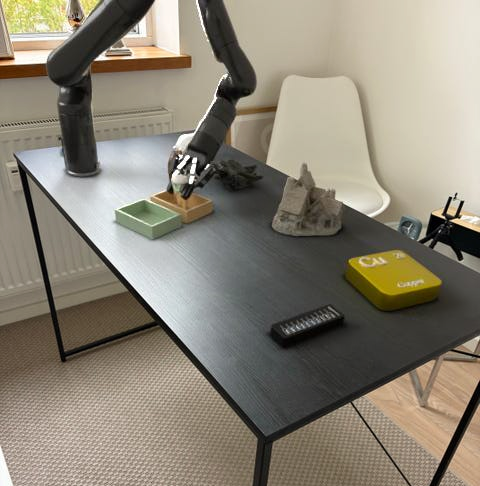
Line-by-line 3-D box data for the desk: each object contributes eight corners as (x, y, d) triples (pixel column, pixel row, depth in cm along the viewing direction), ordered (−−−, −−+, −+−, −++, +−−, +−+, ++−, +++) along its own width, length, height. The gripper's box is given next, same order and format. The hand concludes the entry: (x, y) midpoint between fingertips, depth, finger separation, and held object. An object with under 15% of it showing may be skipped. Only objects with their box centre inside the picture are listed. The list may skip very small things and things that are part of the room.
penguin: (186, 170, 161) (226, 149, 163) (177, 146, 155) (218, 125, 157) (177, 161, 167) (215, 141, 169) (168, 138, 161) (207, 118, 163)
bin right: (150, 207, 130) (150, 196, 128) (176, 197, 136) (176, 186, 134) (186, 223, 124) (186, 211, 122) (212, 212, 130) (212, 200, 128)
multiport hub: (269, 334, 90) (270, 324, 89) (328, 312, 97) (330, 303, 95) (283, 348, 87) (284, 338, 86) (343, 324, 94) (346, 315, 92)
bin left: (115, 221, 122) (114, 209, 120) (144, 210, 128) (144, 198, 126) (152, 239, 116) (151, 226, 114) (181, 226, 122) (181, 214, 120)
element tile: (382, 313, 97) (387, 293, 95) (341, 275, 108) (345, 256, 105) (440, 299, 103) (447, 280, 100) (395, 264, 113) (400, 246, 111)
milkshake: (194, 206, 131) (193, 170, 125) (184, 214, 127) (183, 176, 121) (179, 203, 132) (178, 166, 126) (169, 210, 128) (167, 173, 122)
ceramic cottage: (262, 224, 125) (273, 168, 116) (298, 208, 136) (310, 155, 127) (313, 249, 118) (328, 191, 109) (346, 230, 129) (362, 176, 120)
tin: (178, 193, 138) (177, 164, 133) (167, 192, 138) (166, 163, 133) (184, 173, 150) (184, 146, 145) (174, 173, 150) (173, 145, 145)
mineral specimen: (244, 182, 134) (236, 146, 133) (207, 196, 140) (199, 161, 139) (269, 185, 146) (261, 152, 145) (233, 197, 153) (226, 165, 152)
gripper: (181, 123, 126) (149, 180, 126) (223, 136, 120) (189, 197, 119) (194, 139, 133) (164, 194, 133) (235, 153, 126) (203, 210, 126)
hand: (176, 195), depth 126 cm, fingers closed on milkshake, 4 cm apart
